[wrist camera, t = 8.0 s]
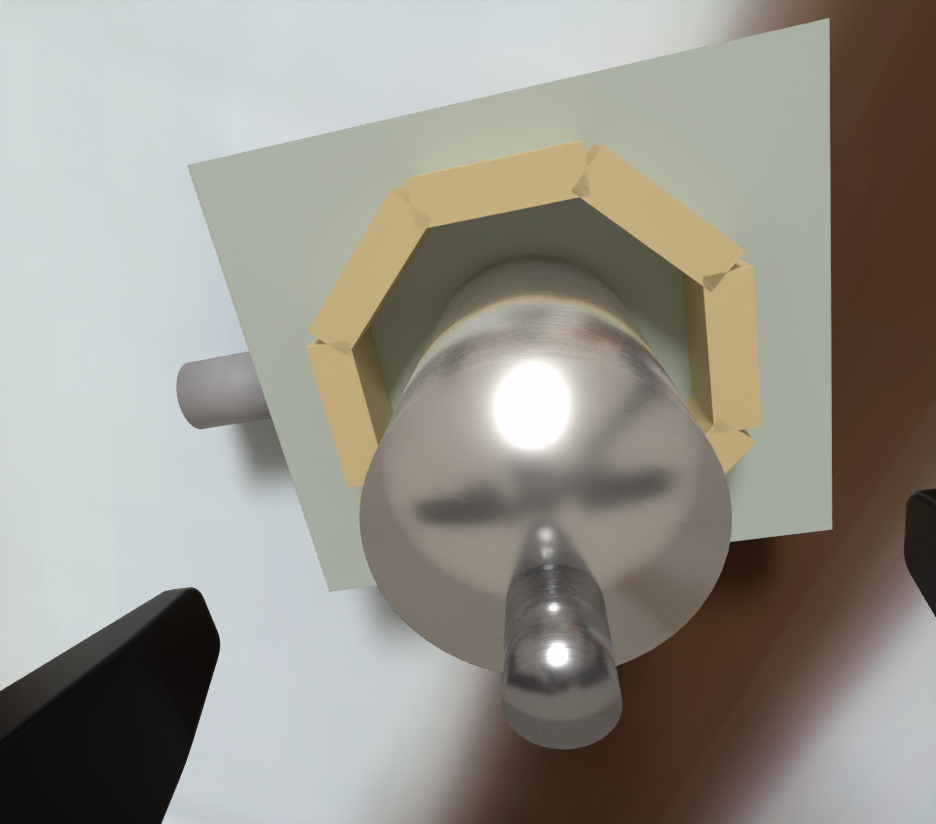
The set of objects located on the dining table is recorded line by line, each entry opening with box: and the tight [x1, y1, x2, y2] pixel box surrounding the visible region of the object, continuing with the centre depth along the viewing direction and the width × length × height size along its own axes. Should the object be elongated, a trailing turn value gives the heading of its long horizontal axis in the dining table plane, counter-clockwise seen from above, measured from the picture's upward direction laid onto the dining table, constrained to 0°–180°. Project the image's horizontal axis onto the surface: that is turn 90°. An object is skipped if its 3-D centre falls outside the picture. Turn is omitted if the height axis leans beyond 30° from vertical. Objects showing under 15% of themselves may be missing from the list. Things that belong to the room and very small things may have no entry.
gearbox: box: [177, 18, 832, 591], centre depth 18 cm, size 17×12×6 cm
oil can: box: [359, 254, 732, 749], centre depth 12 cm, size 5×5×10 cm
